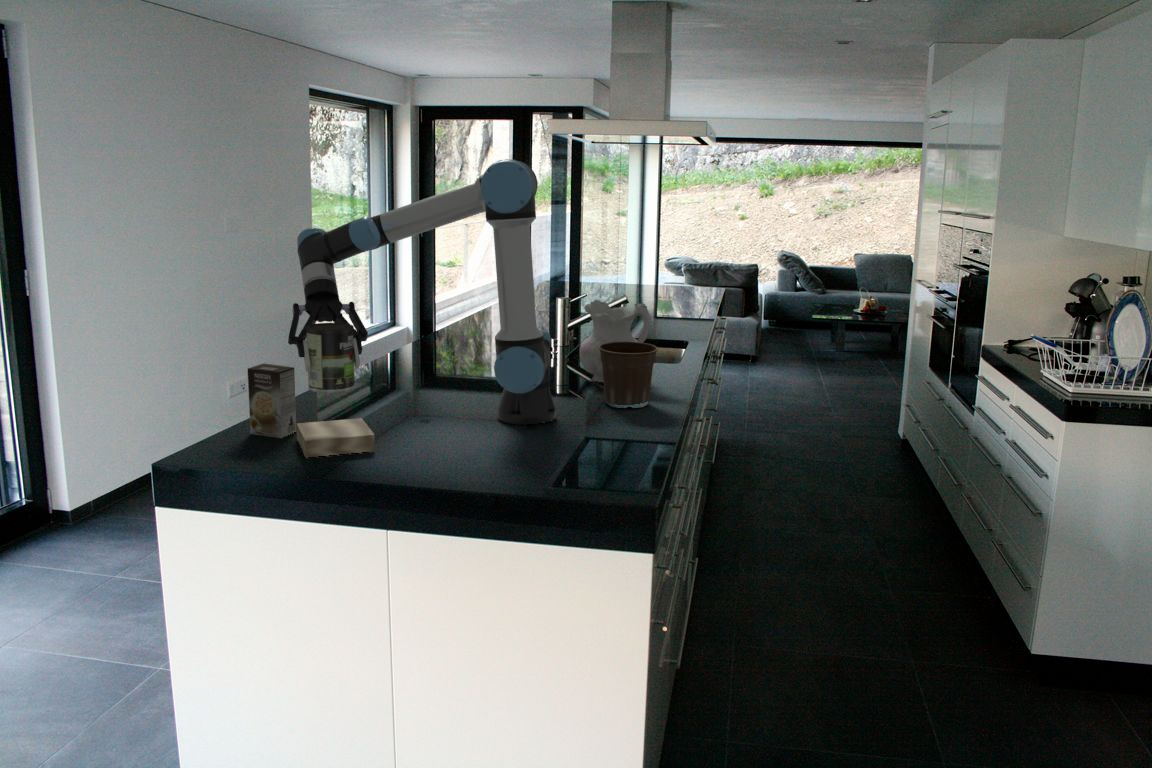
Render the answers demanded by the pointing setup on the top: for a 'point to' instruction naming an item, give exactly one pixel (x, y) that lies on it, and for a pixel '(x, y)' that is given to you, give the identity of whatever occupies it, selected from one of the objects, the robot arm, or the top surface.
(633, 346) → the plant pot
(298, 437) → the oak base block
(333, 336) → the coffee can
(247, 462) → the top surface
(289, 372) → the coffee box
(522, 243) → the robot arm
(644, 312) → the ceramic pitcher
